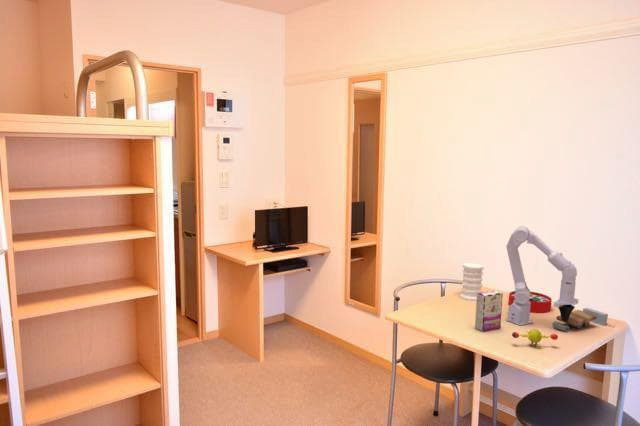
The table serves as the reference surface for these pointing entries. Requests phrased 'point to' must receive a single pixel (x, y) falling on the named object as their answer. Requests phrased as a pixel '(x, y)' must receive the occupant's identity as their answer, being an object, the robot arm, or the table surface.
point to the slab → (578, 318)
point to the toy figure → (534, 336)
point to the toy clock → (535, 302)
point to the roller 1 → (560, 326)
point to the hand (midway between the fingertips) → (564, 320)
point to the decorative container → (471, 281)
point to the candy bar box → (488, 310)
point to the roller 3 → (586, 324)
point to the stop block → (600, 316)
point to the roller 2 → (575, 326)
